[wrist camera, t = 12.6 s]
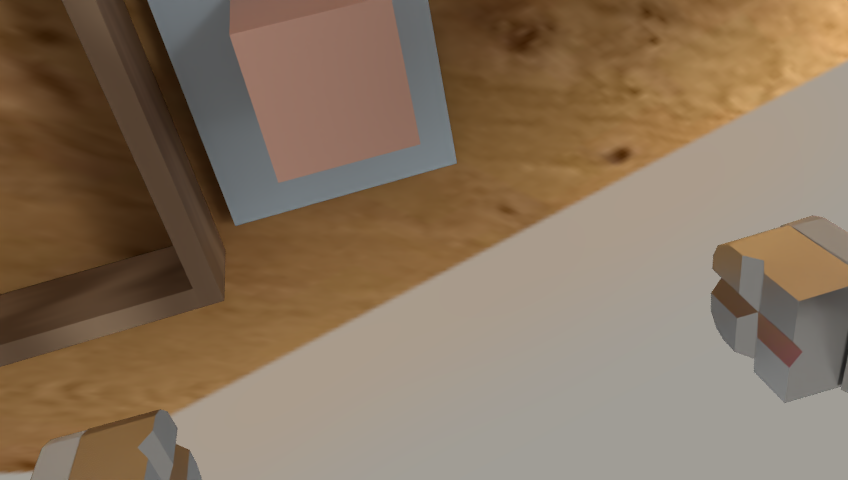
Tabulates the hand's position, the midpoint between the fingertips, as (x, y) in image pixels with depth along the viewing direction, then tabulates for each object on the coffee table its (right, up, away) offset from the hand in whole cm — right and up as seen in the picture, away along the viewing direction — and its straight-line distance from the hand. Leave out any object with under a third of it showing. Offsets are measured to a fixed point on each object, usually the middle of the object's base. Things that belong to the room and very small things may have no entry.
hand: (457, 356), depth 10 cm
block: (-5, +10, +19) cm, 22 cm away
